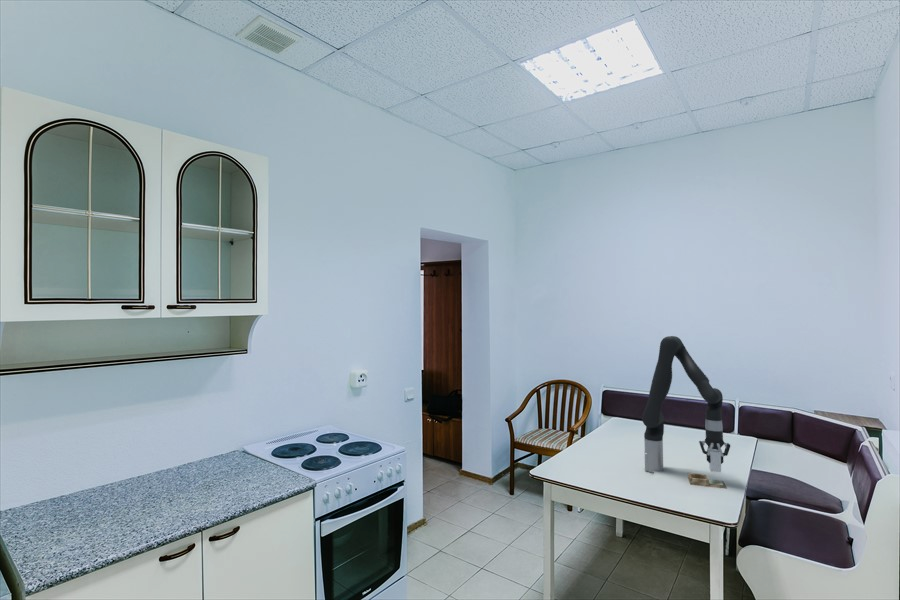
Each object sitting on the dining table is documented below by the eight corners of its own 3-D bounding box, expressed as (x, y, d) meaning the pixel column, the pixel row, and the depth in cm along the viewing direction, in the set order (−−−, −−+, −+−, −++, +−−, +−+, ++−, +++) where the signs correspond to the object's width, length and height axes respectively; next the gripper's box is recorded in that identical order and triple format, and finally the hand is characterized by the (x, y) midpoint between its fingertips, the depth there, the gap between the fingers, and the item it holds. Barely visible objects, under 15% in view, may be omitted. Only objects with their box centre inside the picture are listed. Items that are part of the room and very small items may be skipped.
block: (710, 471, 223) (710, 451, 223) (709, 468, 227) (708, 448, 227) (721, 472, 221) (720, 452, 221) (719, 469, 225) (718, 449, 225)
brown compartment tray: (690, 486, 222) (690, 478, 222) (687, 478, 232) (687, 470, 232) (727, 490, 216) (727, 482, 216) (723, 482, 226) (722, 474, 226)
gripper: (698, 429, 224) (700, 463, 223) (732, 431, 218) (733, 467, 218) (696, 425, 231) (697, 459, 230) (728, 428, 225) (730, 462, 225)
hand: (715, 462), depth 224 cm, fingers closed on block, 4 cm apart
